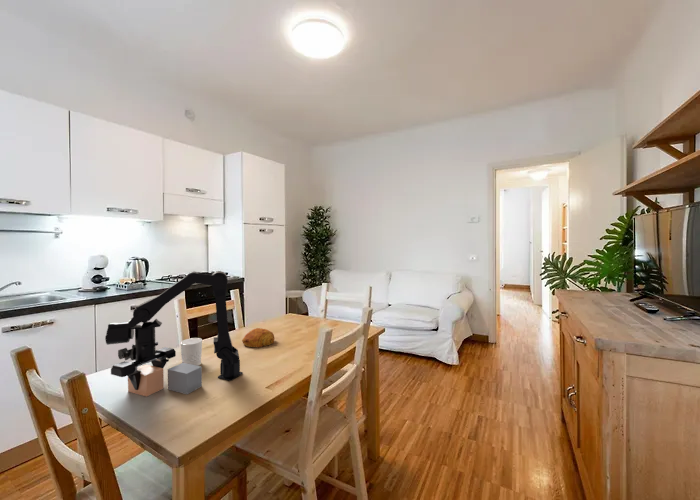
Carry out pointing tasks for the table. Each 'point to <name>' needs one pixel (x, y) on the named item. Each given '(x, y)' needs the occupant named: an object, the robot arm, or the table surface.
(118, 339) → the robot arm
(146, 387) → the peach rectangular block
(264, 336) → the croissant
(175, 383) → the pale grey box
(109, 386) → the table surface
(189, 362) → the white cup
